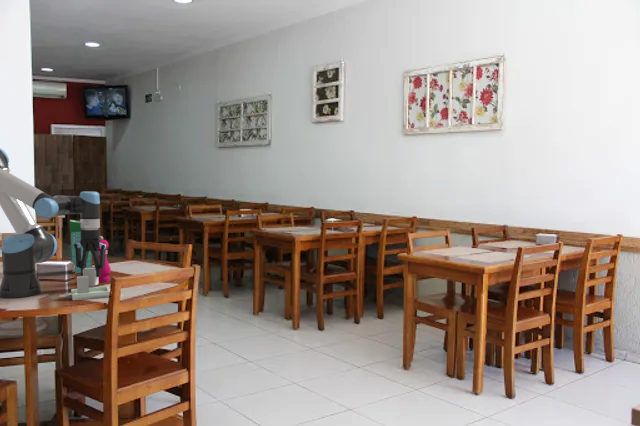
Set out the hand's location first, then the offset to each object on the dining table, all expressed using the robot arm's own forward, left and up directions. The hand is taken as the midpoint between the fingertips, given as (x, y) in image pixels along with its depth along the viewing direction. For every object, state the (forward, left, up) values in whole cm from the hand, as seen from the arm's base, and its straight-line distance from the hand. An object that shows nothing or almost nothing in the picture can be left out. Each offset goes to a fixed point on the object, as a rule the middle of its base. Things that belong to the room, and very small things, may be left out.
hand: (90, 284), depth 249 cm
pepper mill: (+6, +13, -2) cm, 14 cm away
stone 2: (0, 0, 0) cm, 0 cm away
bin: (-1, -16, -1) cm, 16 cm away
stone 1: (-4, -16, -1) cm, 17 cm away
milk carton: (-1, +42, -2) cm, 42 cm away
